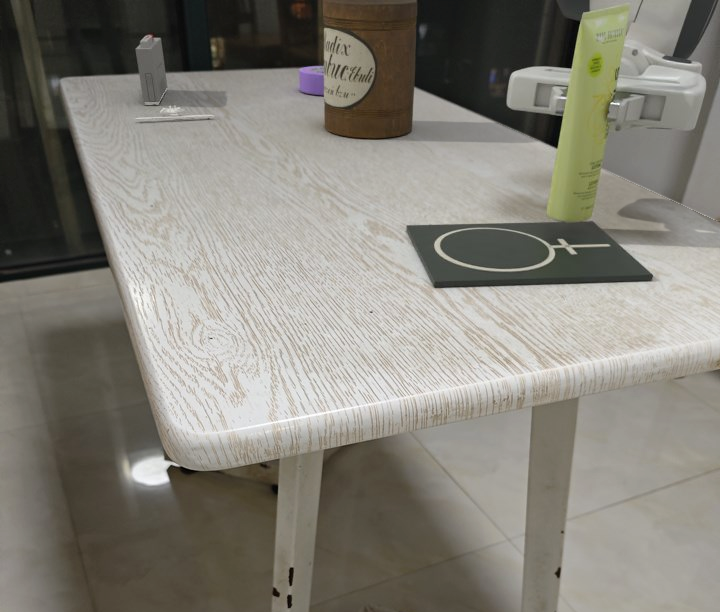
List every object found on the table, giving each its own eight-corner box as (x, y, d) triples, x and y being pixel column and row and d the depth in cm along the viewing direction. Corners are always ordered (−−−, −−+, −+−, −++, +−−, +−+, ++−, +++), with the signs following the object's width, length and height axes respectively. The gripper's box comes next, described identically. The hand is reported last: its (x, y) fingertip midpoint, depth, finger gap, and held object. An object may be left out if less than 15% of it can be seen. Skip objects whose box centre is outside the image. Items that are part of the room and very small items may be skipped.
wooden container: (308, 124, 120) (304, -34, 107) (379, 116, 127) (384, -35, 113) (355, 143, 111) (357, -29, 97) (429, 133, 117) (441, -30, 104)
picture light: (133, 123, 119) (131, 109, 118) (131, 117, 122) (129, 104, 121) (216, 119, 123) (214, 105, 121) (212, 114, 126) (211, 100, 125)
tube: (594, 227, 76) (640, 11, 63) (547, 225, 76) (582, 11, 64) (589, 208, 80) (630, 2, 67) (543, 206, 81) (576, 2, 68)
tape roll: (326, 83, 151) (326, 63, 149) (368, 91, 146) (368, 70, 143) (287, 90, 144) (287, 69, 142) (329, 99, 139) (329, 76, 136)
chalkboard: (591, 226, 82) (593, 219, 82) (651, 280, 70) (654, 272, 69) (406, 230, 80) (406, 223, 79) (434, 287, 67) (434, 279, 67)
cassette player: (154, 89, 143) (145, 31, 137) (167, 89, 143) (160, 31, 137) (144, 105, 131) (134, 42, 124) (158, 105, 131) (150, 42, 125)
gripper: (531, 47, 82) (492, 63, 72) (718, 64, 75) (703, 84, 65) (522, 107, 86) (484, 130, 76) (699, 129, 79) (682, 157, 69)
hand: (586, 109), depth 71 cm, fingers closed on tube, 4 cm apart
